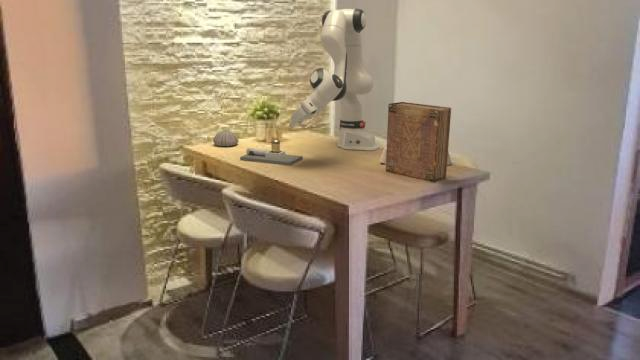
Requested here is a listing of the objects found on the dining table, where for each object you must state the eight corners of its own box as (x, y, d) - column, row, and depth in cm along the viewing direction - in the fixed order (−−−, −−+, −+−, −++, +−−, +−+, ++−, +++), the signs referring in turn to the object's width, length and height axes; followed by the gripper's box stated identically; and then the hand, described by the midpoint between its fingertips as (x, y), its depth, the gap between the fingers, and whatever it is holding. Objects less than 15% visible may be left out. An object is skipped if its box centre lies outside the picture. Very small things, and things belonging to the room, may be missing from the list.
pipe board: (302, 159, 264) (302, 150, 262) (290, 165, 251) (290, 155, 250) (254, 154, 273) (254, 145, 272) (240, 159, 260) (240, 150, 259)
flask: (441, 161, 263) (443, 141, 260) (454, 164, 258) (456, 143, 255) (432, 164, 258) (434, 143, 255) (445, 166, 253) (447, 145, 250)
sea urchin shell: (208, 145, 292) (207, 130, 290) (228, 141, 302) (227, 127, 300) (224, 149, 284) (224, 133, 282) (244, 145, 294) (243, 130, 292)
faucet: (406, 169, 266) (412, 150, 266) (383, 163, 254) (389, 142, 254) (400, 168, 269) (406, 148, 269) (377, 161, 257) (382, 141, 257)
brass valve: (281, 156, 262) (281, 140, 260) (277, 158, 258) (277, 141, 256) (273, 155, 263) (273, 139, 261) (269, 157, 260) (269, 140, 258)
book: (446, 178, 233) (451, 107, 225) (434, 182, 227) (439, 109, 219) (397, 167, 250) (401, 101, 242) (385, 171, 244) (388, 103, 236)
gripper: (318, 96, 256) (299, 116, 263) (300, 101, 238) (280, 122, 244) (327, 106, 256) (307, 126, 262) (310, 112, 238) (289, 133, 244)
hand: (294, 124), depth 253 cm, fingers open, 8 cm apart
